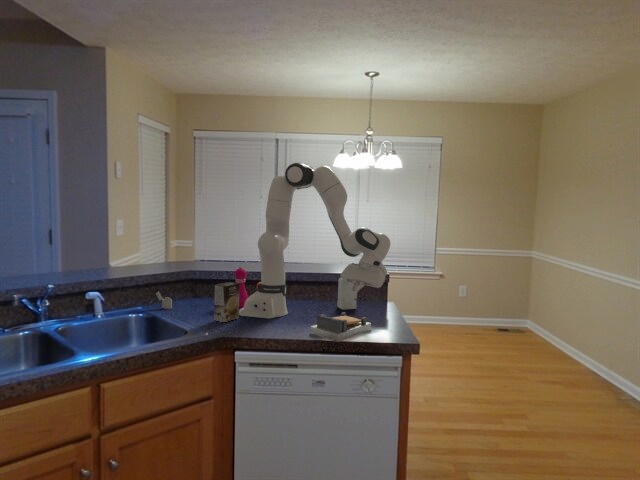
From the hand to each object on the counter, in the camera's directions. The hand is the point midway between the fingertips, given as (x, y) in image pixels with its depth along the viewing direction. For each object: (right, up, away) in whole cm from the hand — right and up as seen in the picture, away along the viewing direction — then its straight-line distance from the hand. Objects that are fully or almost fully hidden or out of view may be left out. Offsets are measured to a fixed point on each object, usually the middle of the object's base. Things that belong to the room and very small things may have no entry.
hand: (354, 291), depth 183 cm
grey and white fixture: (-6, -16, -4) cm, 18 cm away
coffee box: (-55, -14, +8) cm, 57 cm away
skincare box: (-1, -13, +36) cm, 38 cm away
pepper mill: (-54, -11, +34) cm, 65 cm away
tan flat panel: (-5, -12, -4) cm, 14 cm away
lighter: (-88, -11, +24) cm, 92 cm away
